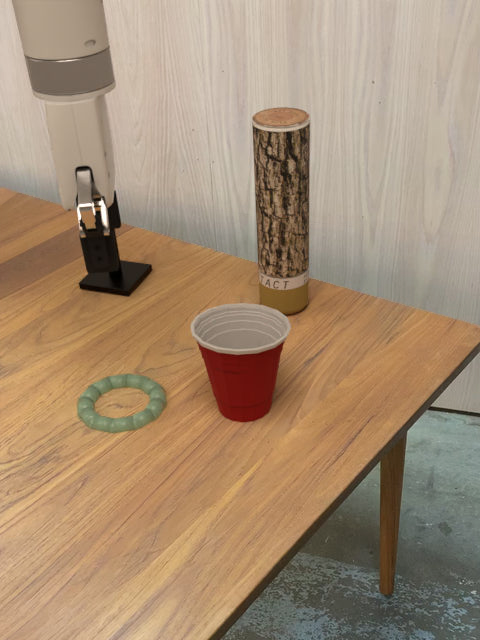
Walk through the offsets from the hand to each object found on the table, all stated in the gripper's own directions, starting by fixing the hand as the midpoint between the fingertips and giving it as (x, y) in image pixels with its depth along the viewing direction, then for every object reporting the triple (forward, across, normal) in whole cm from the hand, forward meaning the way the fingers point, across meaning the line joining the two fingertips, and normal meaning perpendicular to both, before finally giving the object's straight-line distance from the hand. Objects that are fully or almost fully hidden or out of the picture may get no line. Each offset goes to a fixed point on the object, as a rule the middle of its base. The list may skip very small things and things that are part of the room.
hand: (105, 248), depth 82 cm
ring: (+18, +3, -1) cm, 18 cm away
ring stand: (+19, -29, -3) cm, 34 cm away
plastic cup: (+19, +5, +13) cm, 24 cm away
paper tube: (+19, -18, +21) cm, 33 cm away
